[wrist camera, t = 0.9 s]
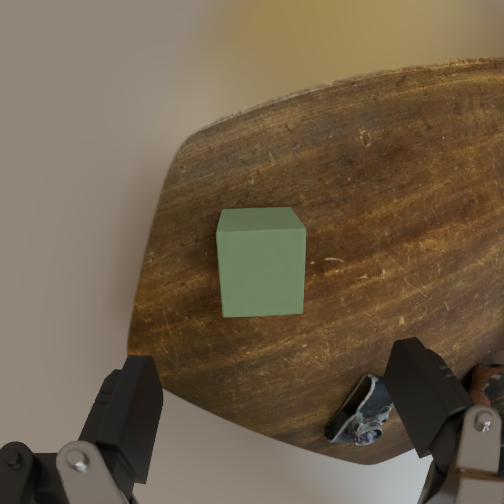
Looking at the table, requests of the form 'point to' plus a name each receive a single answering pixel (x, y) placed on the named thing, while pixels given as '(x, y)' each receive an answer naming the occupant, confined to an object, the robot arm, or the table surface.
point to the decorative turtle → (488, 386)
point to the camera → (361, 413)
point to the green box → (261, 261)
